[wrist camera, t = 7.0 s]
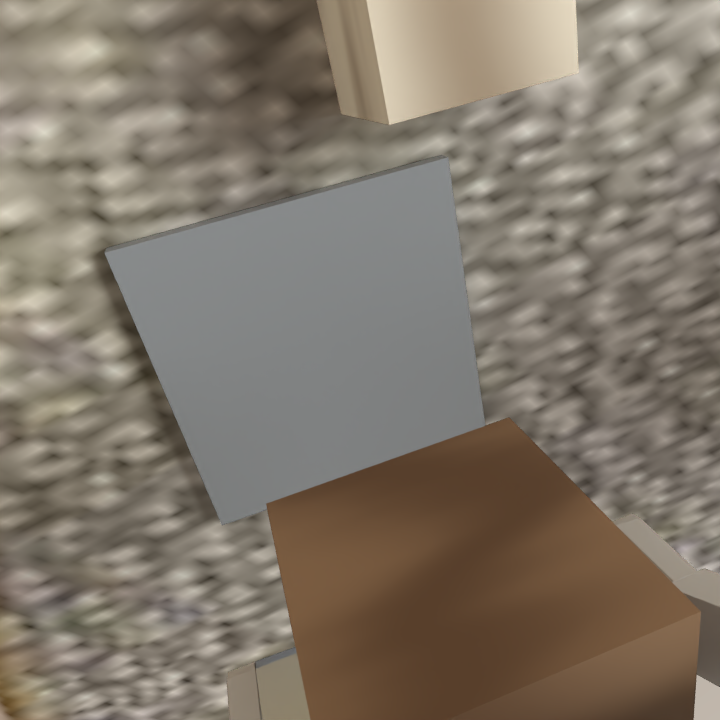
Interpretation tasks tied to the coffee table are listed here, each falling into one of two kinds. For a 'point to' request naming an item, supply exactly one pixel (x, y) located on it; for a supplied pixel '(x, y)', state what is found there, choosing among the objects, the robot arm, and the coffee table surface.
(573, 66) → the beech cube
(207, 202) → the coffee table surface
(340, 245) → the pad
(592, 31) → the coffee table surface
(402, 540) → the walnut cube
